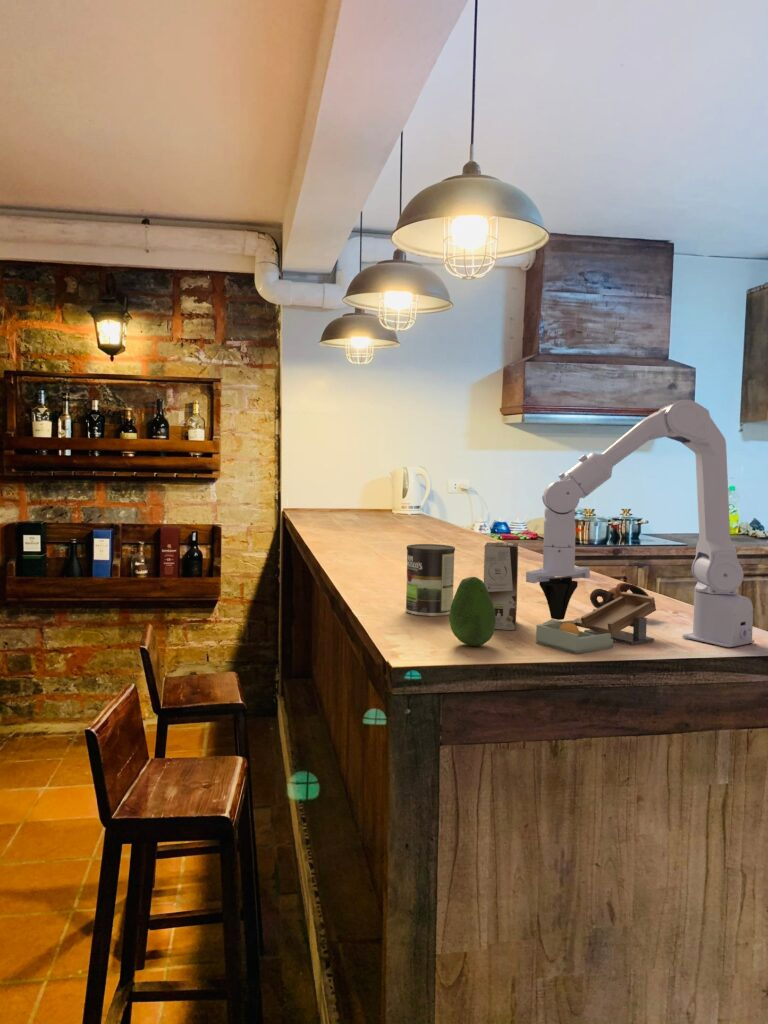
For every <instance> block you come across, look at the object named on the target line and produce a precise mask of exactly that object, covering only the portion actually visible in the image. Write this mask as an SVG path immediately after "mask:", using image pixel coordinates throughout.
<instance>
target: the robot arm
mask: <svg viewBox="0 0 768 1024" xmlns="http://www.w3.org/2000/svg"><path fill="white" fill-rule="evenodd" d="M661 438H662V439H663V438H667V439H670V440H673V441H675V442H676V441H677V442H679V443H681V444H682V445H684V446H685V447H686V448H688V449H689V450H691V451H692V452H693V454H695V471H696V473H695V475H696V495H697V515H698V517H697V518H698V537H699V539H698V541H697V544H696V547H695V558H694V560H692V561H693V562H692V564H691V574H692V576H693V579H694V580H695V581H696V584H695V586H694V597H693V600H694V601H693V618H692V619H693V620H692V621H693V622H692V623H693V624H692V625H693V626H692V632H691V633H690V632H689V633H685V634H684V633H683V634H682V638H685V639H689V640H694V641H698V642H704V643H707V644H710V645H711V644H713V645H716V646H720V647H726V648H733V647H739V646H744V645H749V643H750V644H754V643H755V639H753V625H754V606H753V602H752V600H751V599H750V598H749V597H747V596H744V595H741V594H739V593H738V592H739V587H740V586H741V585H742V583H743V580H744V570H743V567H742V566H741V564H740V562H739V559H738V554H737V553H738V552H737V549H736V547H735V545H734V543H733V541H732V539H731V527H730V526H731V523H730V503H729V501H730V500H729V498H730V497H729V480H728V460H727V458H728V456H727V441H726V438H725V436H724V435H723V433H722V431H721V430H720V429H719V427H718V426H717V424H716V423H715V422H714V419H712V417H711V414H710V410H709V409H708V408H706V407H704V406H703V405H701V404H699V402H696V401H694V400H691V399H682V400H679V401H676V402H675V403H671V404H670V403H669V404H666V405H663V406H662V407H661V408H660V409H659V410H658V411H655V412H653V413H651V414H650V415H648V416H647V417H645V418H644V419H641V420H640V421H639V422H638V423H636V424H635V425H634V426H633V427H631V429H629V430H628V431H627V432H626V433H625V434H624V435H622V436H621V437H619V438H618V439H617V440H616V441H615V442H614V443H612V444H611V445H610V446H609V447H608V448H606V449H605V450H604V451H603V452H602V453H595V452H591V453H589V454H588V455H586V454H582V455H581V456H580V457H579V458H578V461H579V462H578V463H577V464H575V465H574V466H573V467H572V468H570V469H568V471H566V472H565V473H564V472H561V473H560V474H558V475H557V476H558V478H559V480H558V481H554V482H551V483H550V484H548V485H547V486H546V488H545V489H544V491H543V495H542V496H541V497H542V498H541V499H542V503H543V505H544V506H545V510H544V518H545V519H544V521H543V554H542V555H543V556H542V558H543V559H542V560H543V561H542V567H540V568H539V569H535V570H527V571H526V572H525V582H526V583H530V584H537V583H538V584H539V586H540V588H541V590H542V592H543V594H544V596H545V600H546V602H547V606H548V610H549V614H550V618H551V619H554V620H558V621H562V620H563V621H564V619H565V616H566V613H567V610H568V606H569V603H570V600H571V599H572V596H573V594H574V593H575V591H576V589H577V588H578V584H579V583H578V581H577V580H576V581H575V580H574V579H589V578H590V573H591V572H590V571H591V568H590V567H585V566H575V565H576V563H575V562H576V523H577V522H576V519H575V518H576V514H575V513H576V509H577V507H578V505H579V503H580V499H585V498H586V497H588V496H589V495H590V494H592V493H593V492H595V490H596V489H598V488H599V487H601V486H602V485H603V484H604V483H606V482H607V481H608V480H610V479H611V478H612V474H613V468H614V467H615V466H616V465H617V464H619V463H620V462H621V461H623V460H624V459H625V458H627V457H628V456H630V455H631V454H632V453H634V452H635V451H637V450H638V449H639V448H641V447H642V446H643V445H645V444H646V443H648V441H651V440H656V439H661Z"/></svg>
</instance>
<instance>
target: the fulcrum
mask: <svg viewBox="0 0 768 1024" xmlns="http://www.w3.org/2000/svg"><path fill="white" fill-rule="evenodd" d="M596 609H597V608H594V609H593V610H592V611H594V610H596ZM647 620H648V619H647V617H644V618H643V617H638V618H634V625H633V627H632V630H633V631H632V632H633V633H632V632H628V631H624V630H620V631H619V632H617V633H615V634H613V635H612V634H611V639H613V642H616V641H617V643H620V642H621V644H624V643H625V645H628V644H629V646H636V644H637V645H642V644H641V643H643V644H648V642H649V643H652V642H653V641H654V642H655V638H654V637H650V636H647V622H648V621H647ZM583 632H586V633H590V634H594V635H599V634H606V633H603V632H599V631H595V630H591V629H585V630H584V631H583ZM654 642H653V643H654Z"/></svg>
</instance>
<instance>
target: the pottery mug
mask: <svg viewBox="0 0 768 1024" xmlns="http://www.w3.org/2000/svg"><path fill="white" fill-rule="evenodd" d="M628 591H630V592H632V593H633V594H639V595H644V596H650V595H649V594H648V593H647V592H646V591H645V590H643V588H641V587H639V586H637V585H634V584H631V583H628V582H620V583H618V584H617V585H616V587H612V588H610V589H609V590H606V589H603V588H595V589H594V590H592V591H591V593H590V595H589V600H590V602H591V604H592V606H593V607H594V609H598V608H600V607H601V606H603V605H605V604H607V603H609V602H611V601H613V600H615V599H617V598H618V597H620V596H621V593H622V592H627V593H628ZM598 597H600V598H601V599H602V600H601V601H599V600H598Z"/></svg>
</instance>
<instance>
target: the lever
mask: <svg viewBox="0 0 768 1024" xmlns="http://www.w3.org/2000/svg"><path fill="white" fill-rule="evenodd" d="M656 607H657V606H656V601H655V597H654V596H650V595H649V596H644V595H639V594H633V593H631V592H628V591H627V592H622V593H621V596H620V597H618V598H617V599H615V600H613V601H611V602H609V603H607V604H605V605H603V606H601V607H600V608H595V609H596V610H594V611H593V610H592V611H590V612H589V613H586V614H585V615H582V616H581V617H580V618H579V617H578V618H576V619H573V620H572V621H574V624H575V625H576V626H577V628H578V627H580V628H584V629H586V630H590V629H591V630H595V631H599V632H603V633H610V634H612V635H613V634H615V633H617V632H619V631H620V630H621V631H623V630H624V629H626V628H627V627H632V628H633V625H634V618H638V617H643V618H646V617H647V616H649V615H651V614H653V613H654V612H656V611H657V608H656ZM555 622H563V621H562V620H557V619H552V618H551V619H549V620H547V621H545V622H544V623H542V624H548V623H555Z"/></svg>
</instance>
